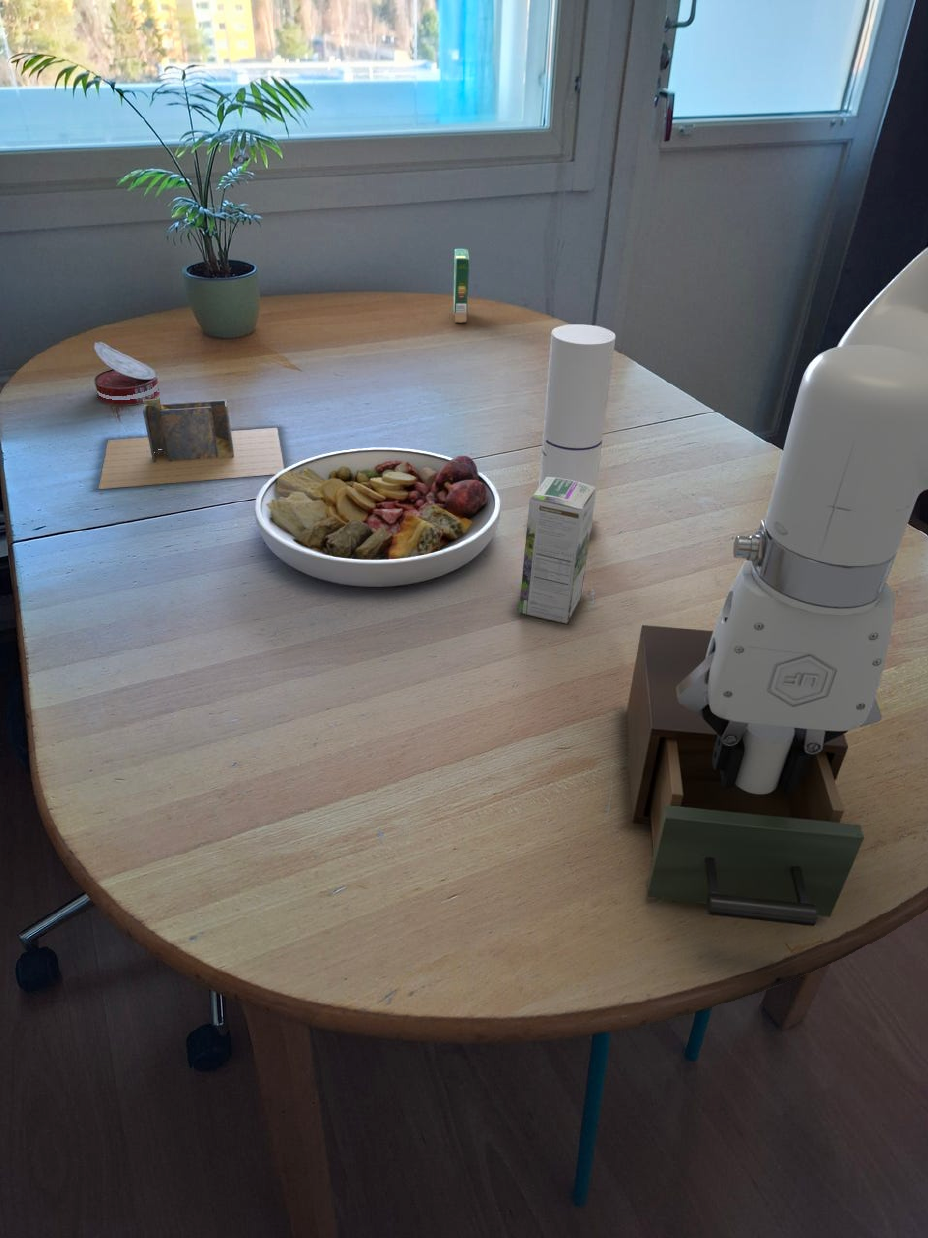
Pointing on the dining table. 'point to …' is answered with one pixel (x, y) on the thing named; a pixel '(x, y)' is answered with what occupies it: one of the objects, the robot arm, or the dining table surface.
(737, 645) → the robot arm
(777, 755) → the white cylinder
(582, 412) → the cylindrical container
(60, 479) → the dining table surface
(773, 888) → the drawer
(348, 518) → the bowl
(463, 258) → the coffee box
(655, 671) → the cabinet
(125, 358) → the canned food
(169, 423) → the ruin model on sheet
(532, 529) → the syrup box
